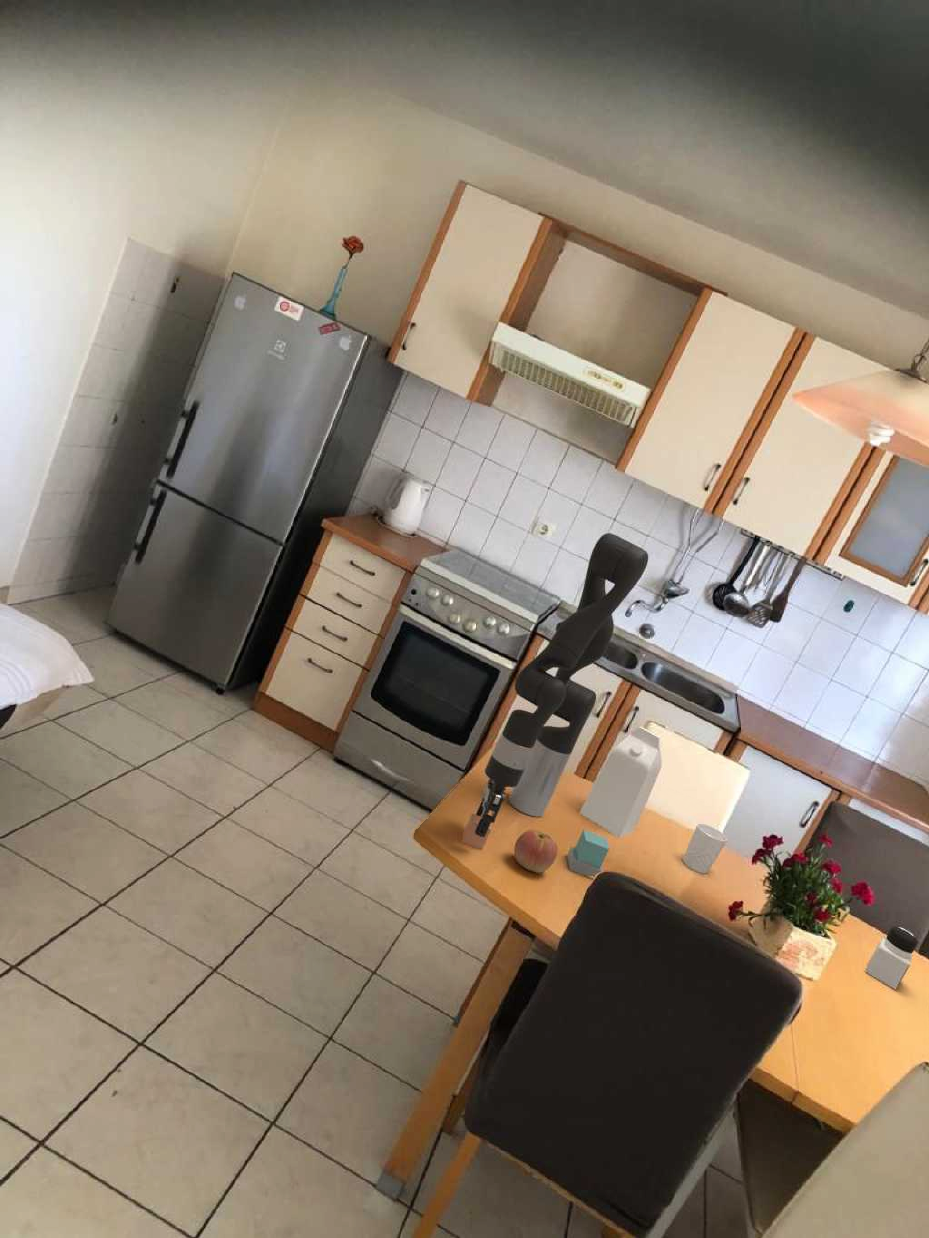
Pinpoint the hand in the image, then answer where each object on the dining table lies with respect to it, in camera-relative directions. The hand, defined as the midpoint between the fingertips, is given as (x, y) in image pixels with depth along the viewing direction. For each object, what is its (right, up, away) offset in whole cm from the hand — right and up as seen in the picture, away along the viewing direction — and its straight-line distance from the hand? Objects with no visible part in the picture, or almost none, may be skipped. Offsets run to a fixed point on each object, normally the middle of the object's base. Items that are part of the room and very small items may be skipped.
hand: (479, 826), depth 202 cm
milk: (+33, -8, +44) cm, 56 cm away
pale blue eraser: (+23, -11, +10) cm, 28 cm away
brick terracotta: (-1, -3, +1) cm, 4 cm away
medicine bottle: (+93, -38, +18) cm, 102 cm away
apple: (+10, -9, 0) cm, 13 cm away
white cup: (+55, -18, +38) cm, 69 cm away
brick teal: (+24, -9, +10) cm, 27 cm away
